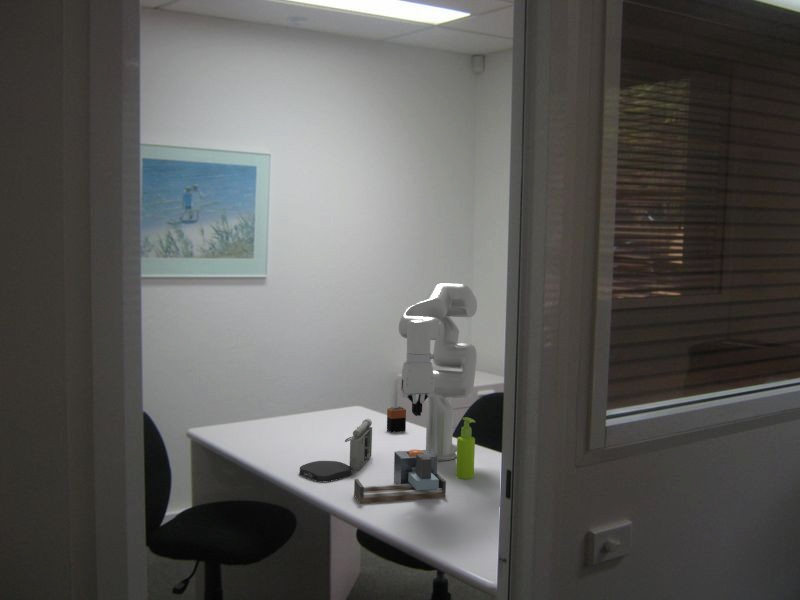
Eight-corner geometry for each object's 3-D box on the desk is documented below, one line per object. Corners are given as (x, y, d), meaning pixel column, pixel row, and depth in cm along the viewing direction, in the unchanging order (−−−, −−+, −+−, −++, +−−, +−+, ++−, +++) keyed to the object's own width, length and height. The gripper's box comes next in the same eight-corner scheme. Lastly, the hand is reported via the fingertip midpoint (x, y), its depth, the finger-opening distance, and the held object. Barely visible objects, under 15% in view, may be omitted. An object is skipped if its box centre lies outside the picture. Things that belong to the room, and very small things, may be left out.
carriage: (429, 480, 255) (430, 452, 255) (438, 489, 247) (439, 460, 246) (408, 481, 253) (408, 453, 253) (416, 490, 245) (417, 461, 244)
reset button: (419, 461, 262) (420, 449, 262) (424, 465, 258) (424, 452, 258) (407, 462, 261) (407, 449, 261) (411, 466, 257) (411, 453, 256)
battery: (405, 431, 328) (406, 407, 327) (390, 432, 325) (391, 408, 324) (401, 428, 332) (401, 404, 331) (386, 430, 329) (386, 406, 328)
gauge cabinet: (428, 479, 266) (429, 449, 265) (437, 487, 257) (437, 456, 257) (393, 481, 262) (394, 451, 261) (401, 489, 254) (401, 458, 253)
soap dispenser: (463, 480, 265) (465, 421, 263) (452, 475, 271) (454, 416, 269) (478, 478, 268) (480, 419, 266) (467, 472, 274) (469, 415, 272)
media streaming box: (356, 475, 269) (356, 466, 269) (322, 484, 259) (322, 475, 259) (328, 465, 279) (329, 457, 279) (294, 473, 269) (294, 465, 269)
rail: (437, 488, 256) (437, 473, 255) (445, 497, 248) (445, 481, 248) (354, 494, 248) (354, 479, 248) (360, 503, 241) (360, 487, 240)
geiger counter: (361, 431, 271) (378, 415, 295) (343, 430, 272) (361, 413, 296) (360, 472, 272) (377, 452, 296) (342, 470, 273) (360, 451, 298)
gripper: (436, 355, 262) (435, 411, 264) (392, 357, 258) (391, 413, 260) (444, 359, 255) (442, 416, 257) (399, 361, 251) (397, 418, 253)
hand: (416, 414), depth 258 cm, fingers closed
